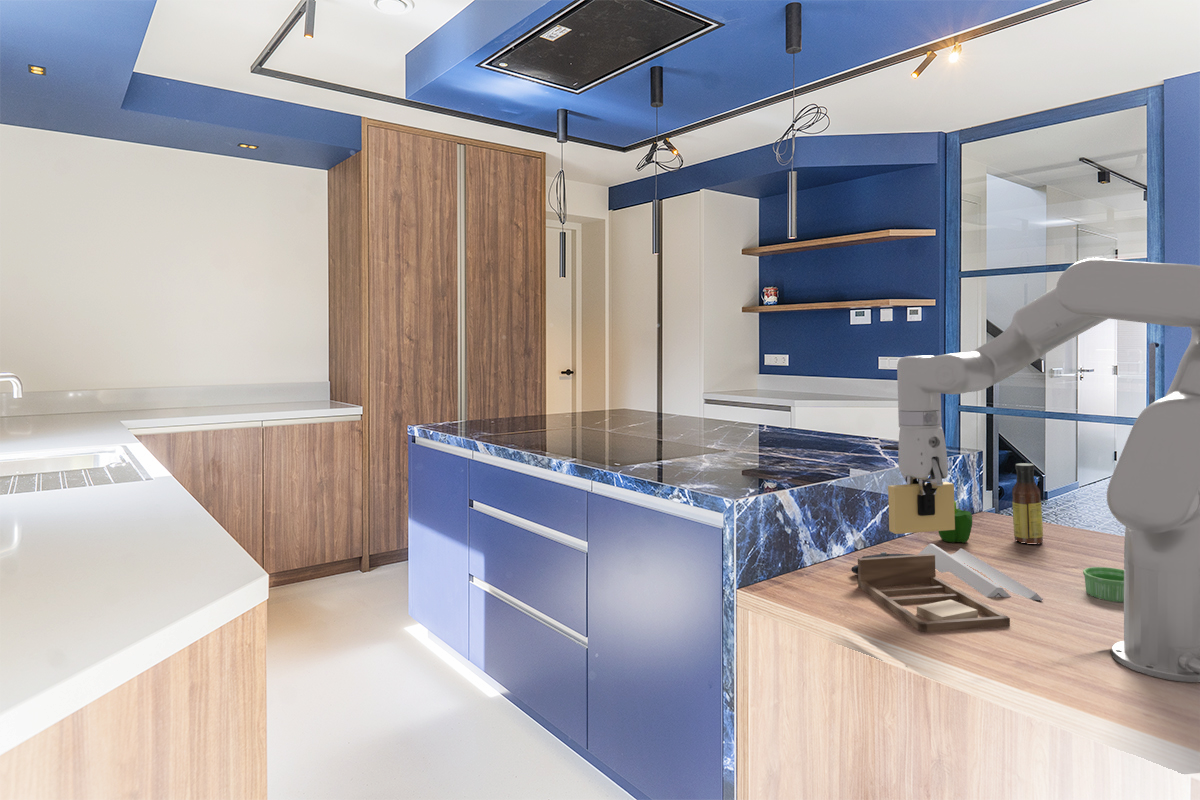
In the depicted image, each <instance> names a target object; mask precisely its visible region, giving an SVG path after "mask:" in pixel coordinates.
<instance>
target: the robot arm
mask: <svg viewBox="0 0 1200 800" xmlns="http://www.w3.org/2000/svg"><path fill="white" fill-rule="evenodd" d="M1109 319H1110V320H1117V321H1125V322H1133V323H1135V322H1136V323H1141V324H1142V323H1144V324H1151V325H1157V326H1158V325H1160V326H1168V327H1176V328H1190V330H1191V336H1190V337H1191V338H1190V341H1189V343H1188V347H1187V348H1186V350H1185V351H1184V353H1183V354H1182V357H1181V360H1180V361H1179V364H1178V367H1177V370H1176V373H1175V375H1174V376H1173V377H1174V378H1173V379H1172V381H1171V383H1170V386H1169V388H1168V389H1167V392H1166V393H1165V395H1164V397H1161V398H1158V399H1157V400H1155V401H1153V402H1151V403H1150V404H1148V405H1147V406H1146V407H1145V408H1144V409H1143V410H1142V411H1141V413H1140V414H1139V415H1138V416H1137V418H1136V420H1135V422H1134V424H1133V425H1132V427H1131V429H1130V432H1129V434H1128V436H1127V439H1126V442H1125V444H1124V446H1123V449H1122V451H1121V453H1120V456H1119V459H1118V461H1117V463H1116V465H1115V468H1114V471H1113V473H1112V475H1111V477H1110V480H1109V483H1108V486H1107V490H1106V501H1107V507H1108V509H1109V511H1110V513H1111V514H1112V516H1113V517H1114V518H1115V519H1116V520H1117V521H1118V522H1119V523H1120V524H1121V525H1123V526H1124V527H1125V529H1124V543H1123V547H1124V549H1123V550H1124V552H1123V570H1124V602H1123V640H1122V641H1121V640H1120V641H1117V642H1116V643H1113V645H1111V656H1112V657H1113V658H1114V660H1116V661H1117V662H1118V663H1119V664H1121V665H1122V666H1124V667H1126V668H1128V669H1130V670H1133V671H1136V672H1139V673H1141V674H1144V675H1147V676H1151V677H1153V678H1154V677H1155V678H1159V679H1164V680H1169V681H1175V682H1182V683H1184V682H1185V683H1200V265H1199V264H1198V265H1197V264H1186V263H1168V262H1166V263H1165V262H1152V261H1151V262H1150V261H1149V262H1148V261H1133V260H1130V261H1129V260H1119V259H1108V258H1100V257H1095V258H1094V257H1092V258H1087V259H1086V258H1085V259H1083V260H1080V261H1079V260H1078V261H1077V262H1075V263H1073V264H1071V265H1070V266H1069V267H1068V268H1066V269H1065V270H1064V271H1063V272H1062V273H1061V275H1060V276H1059V277H1058V280H1057V283H1056V286H1055V287H1053V288H1052V289H1050V290H1048V291H1047V292H1044V293H1043V294H1042V295H1040V296H1039V297H1037V298H1035V299H1034V300H1032V301H1029V302H1028V303H1027V304H1025V305H1023V306H1021V307H1020V308H1019V309H1018V310H1016V311H1015V312H1014V314H1013V316H1012V319H1011V322H1010V324H1009V326H1008V327H1007V328H1006V329H1005V330H1004V331H1002V333H1000V334H999V335H998V336H996V337H994V338H992V339H991V340H989V341H987V342H986V343H984V344H983V345H981V346H979V347H978V348H976V349H973V350H971V351H966V352H963V351H962V352H953V353H946V354H945V353H943V354H938V355H931V354H930V355H908V356H907V355H906V356H903V357H901V358H900V359H898V361H897V364H896V365H897V366H896V370H897V371H896V372H897V373H896V374H897V406H898V407H897V409H898V410H897V412H898V413H897V414H898V415H897V416H898V417H897V418H898V428H899V432H898V433H899V434H898V452H897V455H898V456H897V457H898V460H897V462H898V469H899V472H900V475H901V477H903V478H904V480H905V482H906V484H919V493H920V495H917V501H918V515H920V516H927V515H934V514H935V495H936V490H937V488H938V487H940V486H942V485H943V482H944V481H943V480H944V479H947V478H948V474H949V469H948V468H949V467H948V453H947V445H946V439H945V433H944V429H943V427H942V398H941V397H942V396H941V395H942V394H943V395H944V394H945V395H960V394H962V395H963V394H966V393H967V394H968V393H973V392H979V391H983V390H986V389H988V388H989V387H992V386H994V385H997V384H998V383H999V382H1001V381H1003V380H1005V379H1007V378H1009V377H1012V375H1014V374H1017V373H1018V372H1020V371H1021V370H1023V369H1025V368H1026V367H1028V366H1029V365H1031V364H1033V362H1036V361H1037V360H1039V359H1041V358H1042V357H1044V356H1045V355H1046V354H1047V353H1048V352H1050V351H1052V350H1054V349H1055V348H1057V347H1059V346H1061V345H1063V344H1065V343H1066V342H1068V341H1070V340H1072V339H1073V338H1076V337H1077V336H1080V335H1081V334H1082V333H1084V332H1086V331H1088V330H1090V329H1092V328H1093V327H1096V326H1097V325H1099V324H1101V323H1103V322H1105V321H1107V320H1109ZM925 483H927V484H926V485H925Z"/></svg>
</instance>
